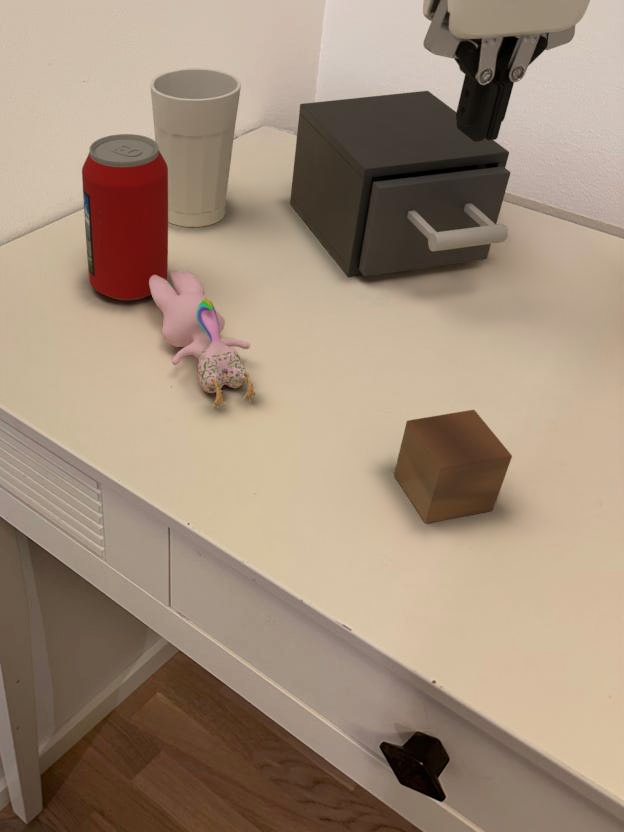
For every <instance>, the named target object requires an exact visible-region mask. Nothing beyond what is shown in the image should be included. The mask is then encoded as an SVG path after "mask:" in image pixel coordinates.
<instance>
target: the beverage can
mask: <svg viewBox="0 0 624 832" xmlns="http://www.w3.org/2000/svg"><path fill="white" fill-rule="evenodd" d="M81 178H82V179H81V180H82V196H83V200H82V201H83V214H84V229H85V242H86V244H85V245H86V256H87V257H86V258H87V259H86V260H87V270H88V279H89V284H90V285H91V287H92V289H94V290H95V291H97V292H98V293H100V294H102V295H104V296H107V297H108V298H110V299H113V300H118V301H128V302H129V301H137V300H141V299H145V298H147V297H149V296H150V295H151V296H152V294H151V290H150V286H149V280H150V278H151V276H153V275H157V276H159V277H162V278H164V279H165V280H167V281H168V271H169V270H168V265H169V264H168V263H169V222H168V167H167V164H166V162H165V160H164V158H163V157H162V155H161V153H160V151H159V146H158V144H157V142H155V139H152V138H150V137H148V136H144V135H141V134H132V133H121V134H120V133H119V134H118V133H117V134H112V135H107V136H103V137H101V138H98V139H96V140H94V142H92V143H91V145H90V146H89V152H88V154H87V157H86V159H85V161H84V163H83V165H82V167H81Z"/></svg>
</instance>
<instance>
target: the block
mask: <svg viewBox="0 0 624 832" xmlns="http://www.w3.org/2000/svg"><path fill="white" fill-rule="evenodd" d="M512 458H513V455H512V453H510V451H509V450H508V449H507V448H506V446H505V445H504V444H503V443H502V441H501V440H500V439H499V437H498V436H497V435H496V434H495V433H494V432H493V431H492V429H491V428H490V427H489V425H488V424H487V423H486V422H485V421H484V419H483V418H482V417H481V416H480V414H479V413H478V412H477V411H476V410H475V409H468V410H463V411H457V412H451V413H445V414H439V415H432V416H427V417H421V418H415V419H410V420H409V419H407V420H406V423H405V426H404V431H403V436H402V439H401V443H400V448H399V452H398V456H397V460H396V464H395V467H394V473H393V476H394V477H395V480H397V483H398V484H399V486H400V487H401V488H402V490H403V491H404V492H405V495H406V496H407V497H408V499H409V501H410V502H411V503H412V505H413V506H414V508H415V509H416V511H417V513H418V514H419V516H420V517H421V519H422V520H423V522H424V523H425V524H430V523H434V522H440V521H445V520H450V519H456V518H461V517H467V516H473V515H477V514H482V513H488V512H493V510H494V509H495V506H496V504H497V503H496V502H497V500H498V497H499V495H500V492H501V490H502V487H503V483H504V480H505V477H506V475H507V472H508V469H509V466H510V464H511V461H512Z"/></svg>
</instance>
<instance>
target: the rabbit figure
mask: <svg viewBox="0 0 624 832" xmlns="http://www.w3.org/2000/svg"><path fill="white" fill-rule="evenodd" d="M169 276H170V278H171V281H172V283H173V286H174V287H175V288H173V286H172V285H171V284H170V282H169V281H168V279H167V280H165V279H164V278H162V277H159V276H157V275H153V276H151V278H150V280H149V286H150V290H151V296H152V299H153V302H154V303H155V304H156V306H157V307H158V308H159V309H160V310H161V313H162V315H163V321H162V328H161V337H162V338H163V339H164V341H165V342H167V343H168V344H169V345H171V346H174V347H177V348H181V349H180V350H178V351H177V353H176V354H175V355H174V356H173V358H172V359H171V365H173V366H177V365H180V363H181V360H182V359H183V358H185V357H187V356H193V357H194V358H195V359H196V360H198V364H197V378H198V382H199V385H200V387H201V389H202V390H203V391H204V392H206V393H207V394H216V395H215V400H214V401H213V403H212V405H213V407H215V405H216V409H217V410H218V409H219V404H221V403H224V404H225V405H226V404H227V403H226V401H225V400H224V399H223V394H222V390H221V389H222V388H223V386H227V387H229V388H232V389H237V388H241V386H243V385H244V384H245V382H246V383H247V389H246V390H247V391H246V392H245V395H244V396H243V400H245V398H246V397H248V400H249V401H250V402H251V401H252V398H251V397H252V396H254V398H256V392H255V391H254V386H253V385H254V382H251V379H250V374H249V372H248V371H247V369H246V367H245V364H244V362H243V360H242V358H241V356H240V354H239V353H238V351H236V350H235V349H234V348H232V347H237V348H240V349H242V350H249V349H250V348H251V344H250V342H248V341H244V340H240V339H235V338H225V337H224V338H223V337H221V333H222V332H223V330H224V328H225V324H226V321H225V318H224V317H223V316H222V315H221V314H220V313H219V312H218V311H217V310H216V309H215V306H214V304H213V302H212V300H209V298H207V297H206V296H205V288H204V286H203V284H202V282H201V281H200V280H199V279H198V278H197V277H196V276H195V275H194V274H193V273H191V272H188V271H184V270H172V271H171V270H170V271H169ZM175 289H176V290H175ZM176 291H177V292H176ZM177 293H178V294H177Z"/></svg>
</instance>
